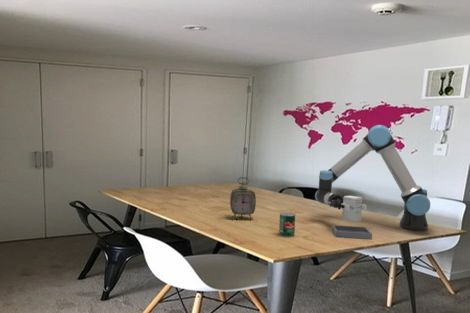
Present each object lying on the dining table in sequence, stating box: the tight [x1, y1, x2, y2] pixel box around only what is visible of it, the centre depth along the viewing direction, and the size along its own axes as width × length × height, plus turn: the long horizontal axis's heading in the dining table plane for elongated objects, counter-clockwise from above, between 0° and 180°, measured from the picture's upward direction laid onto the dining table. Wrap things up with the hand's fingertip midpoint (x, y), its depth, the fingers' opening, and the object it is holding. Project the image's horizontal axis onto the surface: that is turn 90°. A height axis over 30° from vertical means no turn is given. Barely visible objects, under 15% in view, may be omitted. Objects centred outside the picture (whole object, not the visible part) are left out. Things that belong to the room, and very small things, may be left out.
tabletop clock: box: [229, 176, 257, 221], centre depth 244 cm, size 14×9×25 cm, turn 95°
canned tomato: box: [278, 212, 296, 238], centre depth 209 cm, size 8×8×11 cm
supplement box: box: [341, 195, 363, 223], centre depth 215 cm, size 7×7×13 cm
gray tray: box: [331, 224, 373, 240], centre depth 216 cm, size 18×14×3 cm
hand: (357, 208), depth 211 cm, fingers closed on supplement box, 9 cm apart
